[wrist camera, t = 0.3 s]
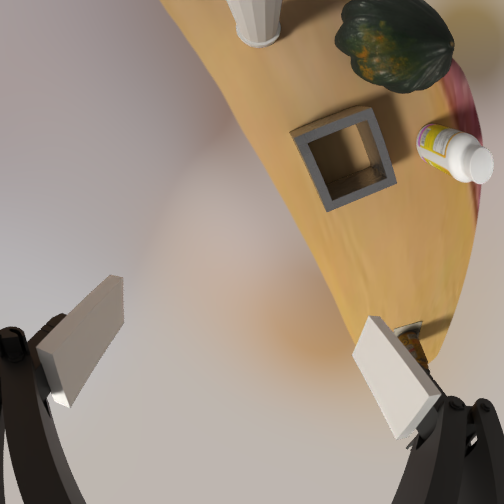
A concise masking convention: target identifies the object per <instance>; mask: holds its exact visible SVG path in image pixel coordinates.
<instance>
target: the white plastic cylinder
mask: <svg viewBox="0 0 504 504" xmlns="http://www.w3.org/2000/svg"><path fill="white" fill-rule="evenodd" d="M226 1H227V3H228V5H229V7H230V10H231V12H232V14H233V17H234V19H235V21H236V24H237V25H236V30H237V35H238V36H239V37H240V39H241V40H242V41H243V42H244V43H245V44H247V45H249V46H251V47H255V48H263V47H267V46H269V45H271V44H273V43H274V42H275V41H276V40H277V38H278V37H279V35H280V31H281V25H280V21H279V17H280V11H281V5H282V0H226Z"/></svg>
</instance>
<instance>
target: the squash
mask: <svg viewBox="0 0 504 504" xmlns="http://www.w3.org/2000/svg"><path fill="white" fill-rule="evenodd" d="M341 17H342V21H343V24H342V26H341V27H340V29H339V30H338V32H337V34H336V36H335V45H336V47H337V48H338V49H339V50H341V51H342V52H343V53H345V54H346V55H348V56H350V57H351V66H352V69H353V71H354V72H355V73H356V74H357V75H358V76H360V77H361V78H362V79H364V80H366V81H368V82H370V83H372V84H376V85H379V86H384V87H385V88H387V89H388V90H390V91H392V92H396V93H402V94H405V93H411V92H413V91H415V90H424V89H427V88H429V87H431V86H432V85H433V84H434V83H435V82H437V81H438V80H440V79H441V78H442V77H444V76H445V75H446V74H447V72H448V71H449V69H450V66H451V61H452V54H453V51H454V39H453V37H452V35H451V33H450V31H449V29H448V27H447V25H446V24H445V22H444V21H443V19H442V18H441V17H440V15H439V14H438V13H437V12H436V11H435V10H434V9H433V8H432V7H431V6H430V5H429V4H427V3H426V2H425V1H424V0H351V1H350V2H348V3H347V4H346V5H345V6H344V7H343V10H342V13H341Z"/></svg>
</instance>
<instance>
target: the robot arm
mask: <svg viewBox="0 0 504 504" xmlns="http://www.w3.org/2000/svg"><path fill="white" fill-rule="evenodd" d="M123 324H124V309H123V277H118V276H114V275H109V276H108V277H107V278H106V279H105V280H104V281H103V282H102V283H101V284H99V285H98V286H97V287H96V288H95V289H94V290H93V291H92V292H91V293H90V294H89V295H87V296H86V297H85V298H84V299H83V300H82V301H81V302H80V303H79V304H78V305H77V306H76V307H75V308H74V309H73V310H72V311H71V312H70V313H69V314H68V315H66V314H63V313H61V314H59V315H57V316H55V317H53V318H51V319H50V321H48V322H47V323H46V325H44V326H43V327H42V328H41V330H39V331H38V332H37V333H36V334H35V335H34V336H33V337H32V338H31V339H30V340H29V341H28V342H27V341H26V337H25V334H24V331H22V330H21V329H20V328H17V327H6V328H3V329H1V330H0V504H5V497H4V482H3V481H4V480H3V450H4V432H5V430H6V437H7V442H8V447H9V452H10V457H11V461H12V466H13V470H14V473H15V477H16V480H17V484H18V487H19V490H20V493H21V496H22V499H23V502H24V504H86V502H85V500H84V498H83V496H82V494H81V492H80V490H79V488H78V486H77V484H76V482H75V479H74V477H73V475H72V472H71V470H70V468H69V465H68V463H67V460H66V457H65V455H64V452H63V449H62V447H61V444H60V441H59V438H58V434H57V431H56V428H55V425H54V421H53V418H52V414H51V411H50V407H49V403H48V400H47V396H48V395H49V393H50V392H51V393H52V396H53V398H54V401H55V402H57V403H60V404H62V405H64V406H66V407H69V408H71V406H72V404H73V403H74V401H75V399H76V398H77V396H78V394H79V393H80V391H81V389H82V387H83V386H84V384H85V383H86V381H87V379H88V378H89V376H90V374H91V373H92V371H93V370H94V368H95V366H96V365H97V363H98V362H99V360H100V358H101V357H102V355H103V354H104V352H105V351H106V349H107V348H108V346H109V345H110V343H111V341H112V340H113V339H114V337H115V335H116V334H117V333H118V331H119V330H120V328H121V327H122V325H123ZM352 356H353V358H354V360H355V362H356V363H357V365H358V367H359V369H360V371H361V373H362V375H363V377H364V378H365V380H366V382H367V384H368V386H369V388H370V390H371V392H372V394H373V395H374V397H375V399H376V401H377V403H378V405H379V407H380V409H381V411H382V413H383V415H384V417H385V419H386V421H387V423H388V425H389V427H390V429H391V431H392V433H393V435H394V437H395V439H396V440H398V439H402V438H407V437H409V436H410V435H411V434H412V432H413V431H414V430H415V429H417V430H418V434H417V436H416V437H415V438H414V439H413V440H412V441H411V442H410V444H409V445H408V446H407V447H406V449H408V448H409V447H410V446H412V445H413V446H412V449H411V453H410V456H409V459H408V462H407V465H406V468H405V471H404V474H403V476H402V479H401V482H400V484H399V487H398V489H397V492H396V494H395V497H394V499H393V501H392V504H504V434H503V431H502V428H501V425H500V422H499V419H498V416H497V413H496V410H495V408H494V406H493V404H492V403H491V402H490V401H488V400H487V399H484V398H480V399H478V400H477V401H476V402H475V404H474V405H473V406H466V405H465V403H464V402H463V401H462V400H461V399H459V398H458V397H455V396H448V397H447V396H446V395H445V393H444V392H443V391H442V389H441V388H440V387H439V385H438V384H437V383H436V381H435V380H433V378H432V376H431V375H429V372H428V371H427V370H426V369H425V367H424V366H422V365H421V364H420V363H418V362H417V361H416V360H415V359H414V358H413V356H412V355H411V354H410V353H409V351H408V350H407V349H406V348H405V346H404V345H403V344H402V343H401V341H400V340H399V339H398V338H397V337H396V335H395V334H394V333H393V332H392V331H391V329H390V328H389V327H388V326H387V325H386V323H385V322H384V321H383V320H382V319H381V317H379V316H368V319H367V321H366V324H365V326H364V329H363V331H362V333H361V336H360V338H359V341H358V343H357V345H356V347H355V350H354V352H353V354H352ZM476 435H477V441H476V442H475V443H474V444H473V445H472V446H471V441H472V440H473V438H474V437H475V436H476Z"/></svg>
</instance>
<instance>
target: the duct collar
mask: <svg viewBox="0 0 504 504" xmlns="http://www.w3.org/2000/svg"><path fill="white" fill-rule="evenodd" d="M354 124H356V126H357V128H358V131H359V133H360V136H361V139H362V141H363V144H364V147H365V149H366V152H367V155H368V158H369V161H370V163H371V167H369V168H366V169H364V170H361V171H359V172H356V173H354V174H351V175H349V176H346V177H344V178H342V179H339V180H337V181H334V182H332V183H329V184H327V185H325V182H324V180H323V177H322V175H321V173H320V170H319V168H318V166H317V164H316V161H315V159H314V157H313V155H312V152H311V150H310V148H309V146H308V144H307V143H309V142H311V141H314V140H316V139H319V138H321V137H324V136H326V135H328V134H331V133H333V132H336V131H339V130H341V129H344V128H346V127H349V126H351V125H354ZM290 134H291V136H292V138H293V141H294V143H295V145H296V147H297V149H298V151H299V153H300V155H301V157H302V159H303V162H304V164H305V166H306V168H307V170H308V172H309V175H310V177H311V179H312V181H313V184H314V186H315V188H316V190H317V193H318V195H319V197H320V199H321V201H322V203H323V205H324V208H325V210H326V212H329V211H331V210H334V209H336V208H339V207H341V206H343V205H346V204H348V203H351V202H353V201H356V200H358V199H360V198H363V197H365V196H368V195H370V194H373V193H375V192H377V191H380V190H382V189H385V188H387V187H390V186H392V185H394V184H397V181H396V177H395V174H394V170H393V167H392V164H391V160H390V157H389V154H388V151H387V148H386V145H385V142H384V139H383V136H382V133H381V130H380V128H379V125H378V122H377V119H376V117H375V114H374V112H373V109H372V108H371V107H364V106H354V107H351V108H348V109H346V110H343V111H340V112H338V113H335V114H332V115H330V116H327V117H325V118H322V119H320V120H317V121H315V122H312V123H310V124H308V125H305V126H303V127H300V128H298V129H296V130H293V131H291V132H290Z"/></svg>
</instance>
